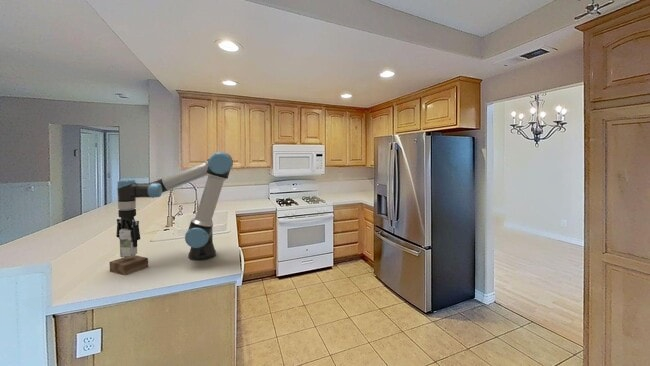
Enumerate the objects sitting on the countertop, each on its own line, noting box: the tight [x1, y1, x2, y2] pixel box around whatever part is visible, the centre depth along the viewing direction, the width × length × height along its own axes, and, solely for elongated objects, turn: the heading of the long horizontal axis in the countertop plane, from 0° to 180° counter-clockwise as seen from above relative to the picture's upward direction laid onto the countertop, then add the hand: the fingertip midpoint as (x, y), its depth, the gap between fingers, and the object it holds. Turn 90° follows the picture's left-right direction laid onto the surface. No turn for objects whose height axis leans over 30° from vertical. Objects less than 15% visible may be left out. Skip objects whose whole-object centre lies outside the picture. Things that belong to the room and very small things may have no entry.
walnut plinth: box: [108, 254, 149, 276], centre depth 146 cm, size 12×12×5 cm
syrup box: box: [119, 228, 138, 258], centre depth 145 cm, size 6×6×14 cm
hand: (128, 251), depth 146 cm, fingers closed on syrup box, 8 cm apart
